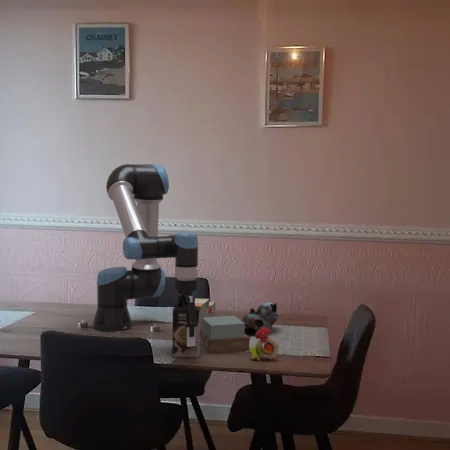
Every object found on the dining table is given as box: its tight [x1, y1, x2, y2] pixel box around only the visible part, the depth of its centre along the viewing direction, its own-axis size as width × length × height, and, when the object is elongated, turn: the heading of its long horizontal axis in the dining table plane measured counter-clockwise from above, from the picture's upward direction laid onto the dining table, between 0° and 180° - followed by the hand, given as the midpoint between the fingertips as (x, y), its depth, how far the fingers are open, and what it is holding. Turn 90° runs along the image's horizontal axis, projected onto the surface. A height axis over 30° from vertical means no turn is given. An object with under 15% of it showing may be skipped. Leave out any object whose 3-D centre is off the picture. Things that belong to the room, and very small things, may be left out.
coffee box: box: [171, 305, 201, 359], centre depth 206 cm, size 9×6×16 cm
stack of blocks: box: [195, 297, 216, 330], centre depth 239 cm, size 21×6×12 cm, turn 165°
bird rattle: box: [249, 326, 279, 361], centre depth 202 cm, size 6×11×9 cm
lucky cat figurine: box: [242, 301, 279, 333], centre depth 238 cm, size 15×12×14 cm
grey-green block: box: [202, 315, 246, 340], centre depth 215 cm, size 12×12×5 cm
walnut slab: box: [200, 330, 250, 355], centre depth 216 cm, size 14×14×5 cm
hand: (186, 340), depth 206 cm, fingers open, 13 cm apart
